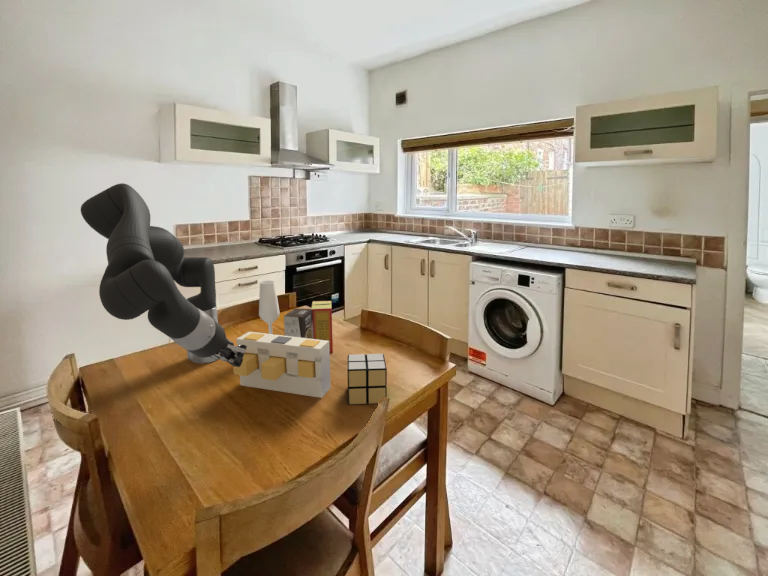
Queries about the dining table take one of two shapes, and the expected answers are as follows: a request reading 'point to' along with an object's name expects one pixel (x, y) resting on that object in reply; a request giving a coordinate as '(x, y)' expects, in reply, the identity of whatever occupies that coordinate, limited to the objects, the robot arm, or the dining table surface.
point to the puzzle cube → (366, 378)
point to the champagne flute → (268, 303)
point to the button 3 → (306, 368)
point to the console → (289, 363)
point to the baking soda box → (322, 321)
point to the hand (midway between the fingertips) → (238, 362)
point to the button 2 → (273, 368)
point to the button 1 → (247, 364)
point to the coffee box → (299, 323)
